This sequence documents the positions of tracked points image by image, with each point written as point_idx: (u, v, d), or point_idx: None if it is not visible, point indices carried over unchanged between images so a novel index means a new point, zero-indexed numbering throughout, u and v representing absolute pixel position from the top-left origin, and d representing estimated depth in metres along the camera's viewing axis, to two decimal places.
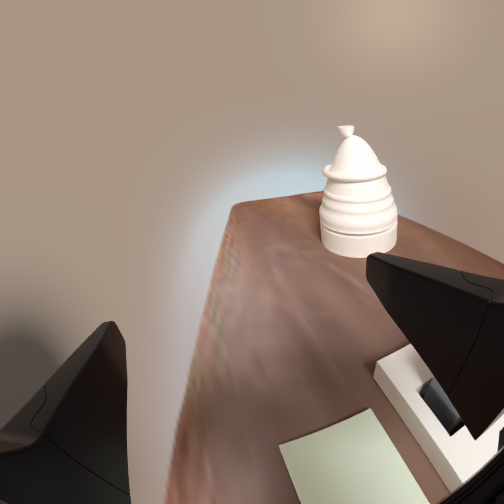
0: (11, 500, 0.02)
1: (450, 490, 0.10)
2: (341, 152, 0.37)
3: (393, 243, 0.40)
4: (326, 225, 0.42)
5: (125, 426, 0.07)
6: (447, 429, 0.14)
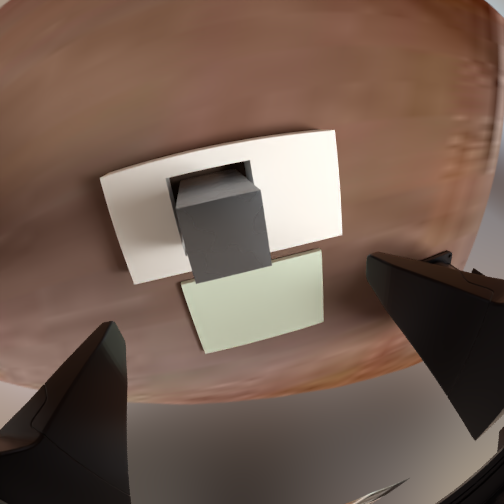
0: (11, 500, 0.02)
1: None
2: None
3: None
4: None
5: (125, 426, 0.07)
6: None
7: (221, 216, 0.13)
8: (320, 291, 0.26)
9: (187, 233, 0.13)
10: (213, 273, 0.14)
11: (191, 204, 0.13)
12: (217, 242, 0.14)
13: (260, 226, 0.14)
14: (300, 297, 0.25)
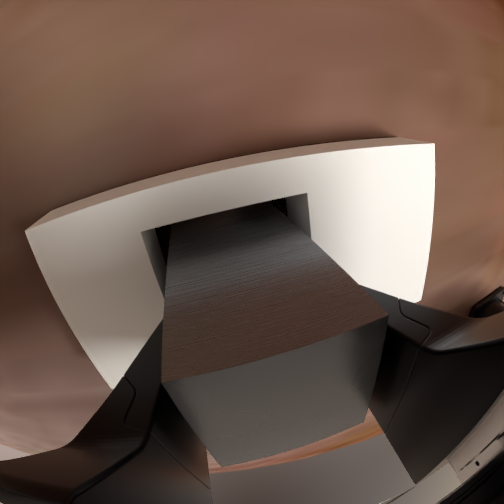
0: None
1: None
2: None
3: None
4: None
5: None
6: None
7: (287, 383, 0.05)
8: None
9: (200, 418, 0.05)
10: (256, 454, 0.06)
11: (205, 367, 0.04)
12: (270, 422, 0.05)
13: (366, 380, 0.05)
14: None
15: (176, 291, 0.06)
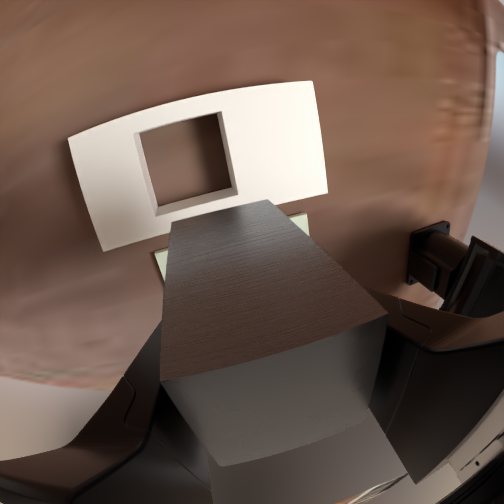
0: None
1: None
2: None
3: None
4: None
5: None
6: None
7: (286, 382, 0.05)
8: None
9: (200, 418, 0.05)
10: (255, 454, 0.06)
11: (204, 367, 0.04)
12: (269, 422, 0.05)
13: (366, 379, 0.05)
14: None
15: (175, 290, 0.06)
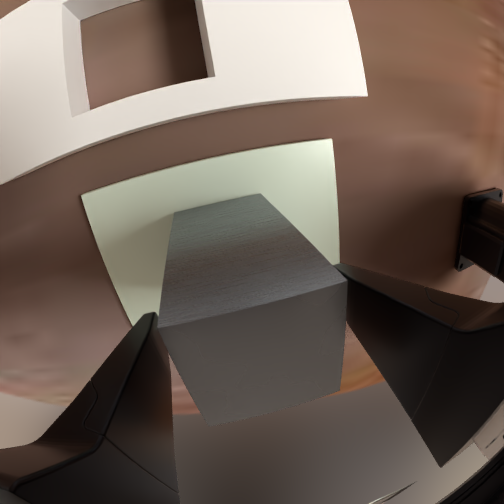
0: None
1: None
2: None
3: None
4: None
5: (171, 421, 0.07)
6: None
7: (260, 337, 0.06)
8: (334, 219, 0.14)
9: (189, 367, 0.06)
10: (239, 413, 0.07)
11: (193, 317, 0.05)
12: (249, 377, 0.06)
13: (334, 343, 0.06)
14: (299, 228, 0.14)
15: (174, 264, 0.08)
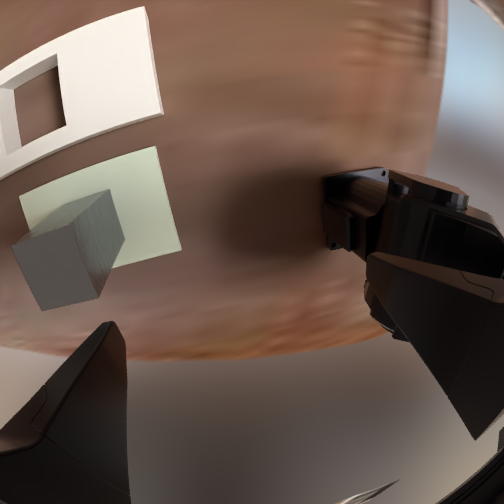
0: (11, 500, 0.02)
1: (132, 123, 0.17)
2: None
3: None
4: None
5: (125, 426, 0.07)
6: (119, 247, 0.18)
7: (43, 251, 0.11)
8: (165, 203, 0.19)
9: (23, 266, 0.11)
10: (51, 302, 0.12)
11: (21, 241, 0.11)
12: (46, 275, 0.12)
13: (76, 260, 0.12)
14: (139, 210, 0.19)
15: (35, 226, 0.13)
